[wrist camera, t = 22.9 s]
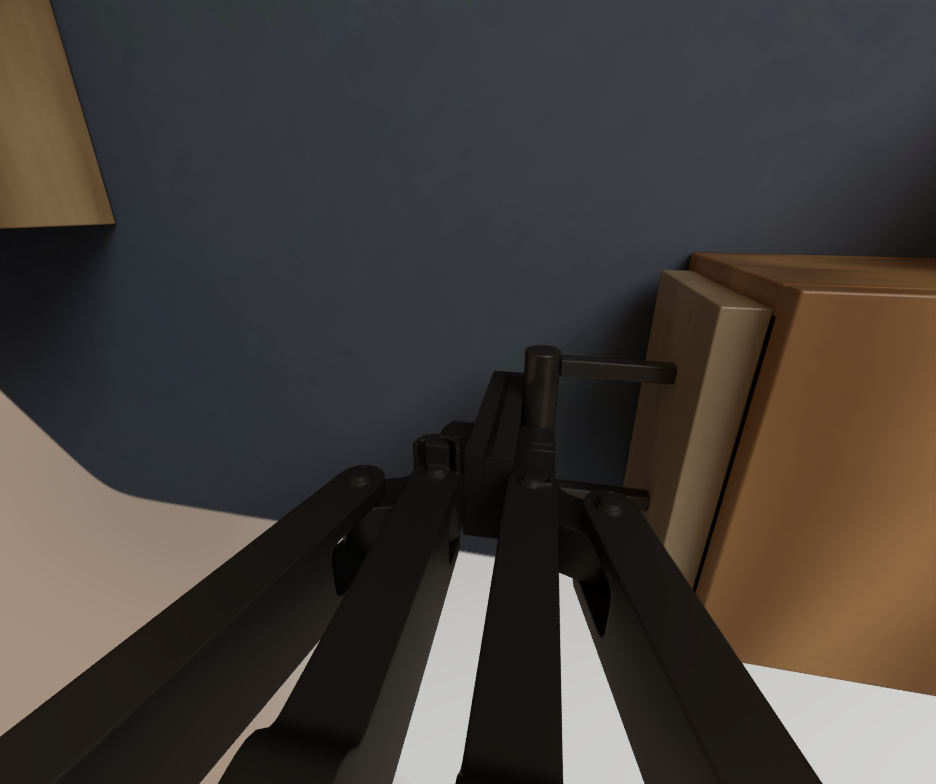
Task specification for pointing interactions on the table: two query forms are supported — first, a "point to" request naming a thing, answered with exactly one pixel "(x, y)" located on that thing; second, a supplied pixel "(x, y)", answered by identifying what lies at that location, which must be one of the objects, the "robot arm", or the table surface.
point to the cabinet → (833, 473)
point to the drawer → (673, 405)
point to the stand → (43, 128)
